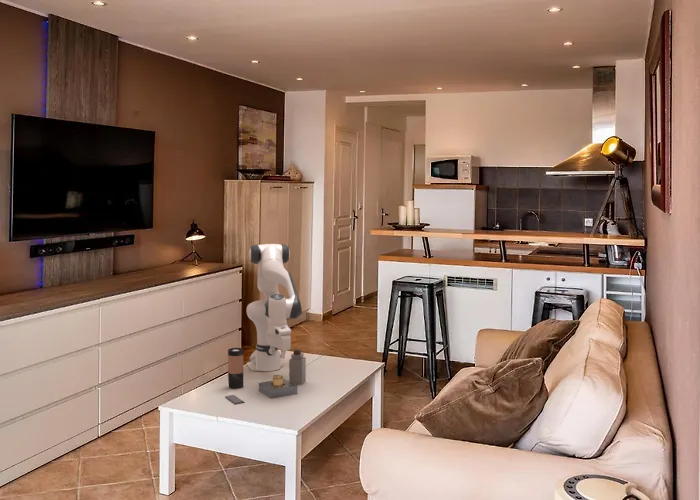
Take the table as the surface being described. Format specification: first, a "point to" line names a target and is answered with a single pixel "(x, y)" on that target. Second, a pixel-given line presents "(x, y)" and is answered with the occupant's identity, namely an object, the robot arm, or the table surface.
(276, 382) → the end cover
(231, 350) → the travel mug
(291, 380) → the grey square bottle
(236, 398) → the mat
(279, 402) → the table surface
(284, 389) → the housing
